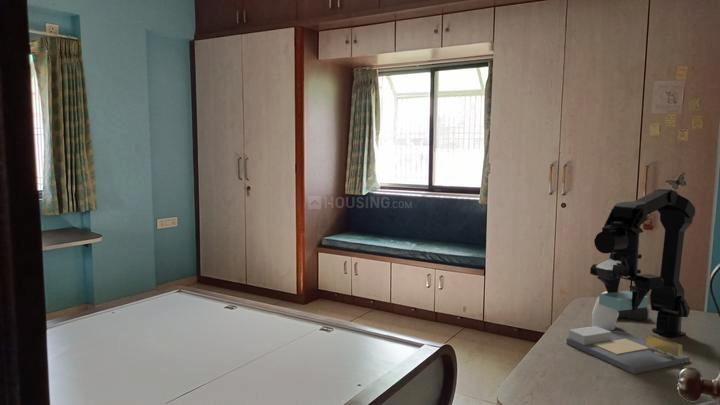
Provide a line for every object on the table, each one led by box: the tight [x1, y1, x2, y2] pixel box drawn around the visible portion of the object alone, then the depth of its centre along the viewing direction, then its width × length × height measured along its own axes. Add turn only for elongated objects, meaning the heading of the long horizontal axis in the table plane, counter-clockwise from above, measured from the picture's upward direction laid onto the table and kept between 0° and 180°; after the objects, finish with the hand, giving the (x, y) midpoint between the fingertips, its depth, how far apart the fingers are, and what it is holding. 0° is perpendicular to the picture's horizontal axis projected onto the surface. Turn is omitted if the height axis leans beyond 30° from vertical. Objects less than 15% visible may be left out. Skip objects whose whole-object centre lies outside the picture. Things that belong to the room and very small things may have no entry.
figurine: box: [591, 290, 619, 331], centre depth 157 cm, size 7×8×12 cm
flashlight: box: [617, 306, 650, 322], centre depth 166 cm, size 15×5×5 cm, turn 78°
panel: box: [565, 325, 690, 375], centre depth 138 cm, size 20×22×4 cm
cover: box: [598, 290, 649, 311], centre depth 137 cm, size 10×7×3 cm, turn 112°
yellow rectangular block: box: [646, 333, 683, 357], centre depth 133 cm, size 2×9×4 cm, turn 22°
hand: (623, 306), depth 137 cm, fingers closed on cover, 6 cm apart
